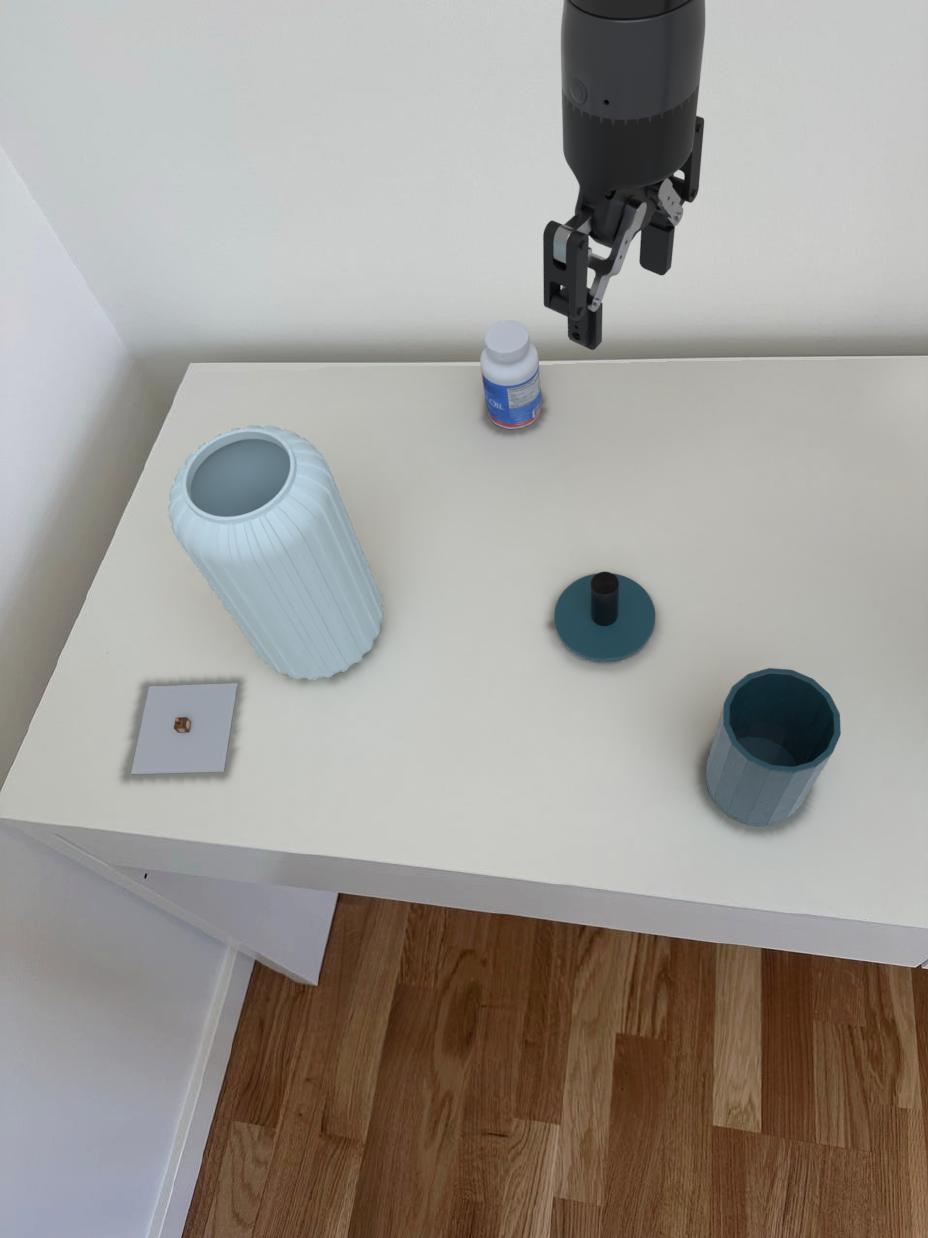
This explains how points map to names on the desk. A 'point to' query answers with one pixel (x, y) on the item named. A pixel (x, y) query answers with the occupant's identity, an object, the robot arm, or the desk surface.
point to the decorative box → (185, 729)
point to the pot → (770, 745)
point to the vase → (278, 549)
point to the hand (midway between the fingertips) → (621, 304)
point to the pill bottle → (511, 375)
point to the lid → (604, 617)
